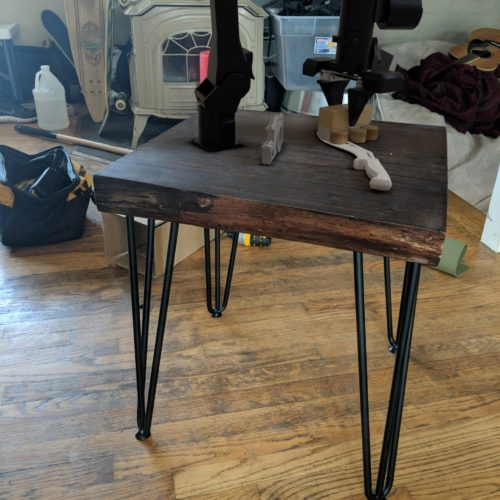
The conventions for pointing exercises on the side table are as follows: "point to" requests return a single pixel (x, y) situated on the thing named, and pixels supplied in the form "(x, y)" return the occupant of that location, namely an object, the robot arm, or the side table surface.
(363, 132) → the short tan cylinder
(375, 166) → the knife
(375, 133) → the crumb
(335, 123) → the oblong tan box
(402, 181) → the side table surface
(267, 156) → the garden wall model
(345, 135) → the tan squat cylinder
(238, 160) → the side table surface
